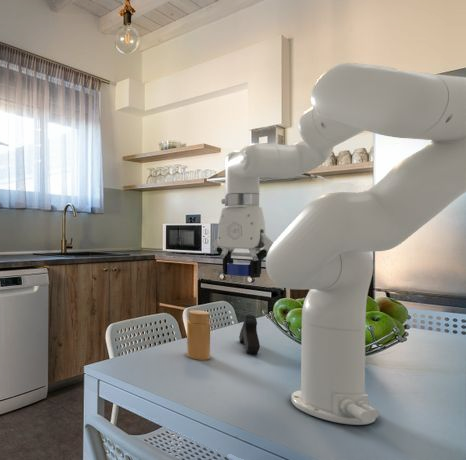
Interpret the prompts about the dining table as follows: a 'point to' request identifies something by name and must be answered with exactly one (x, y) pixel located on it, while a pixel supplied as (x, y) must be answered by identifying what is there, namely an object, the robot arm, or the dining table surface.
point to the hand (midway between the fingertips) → (241, 275)
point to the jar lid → (238, 269)
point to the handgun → (250, 335)
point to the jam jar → (198, 335)
